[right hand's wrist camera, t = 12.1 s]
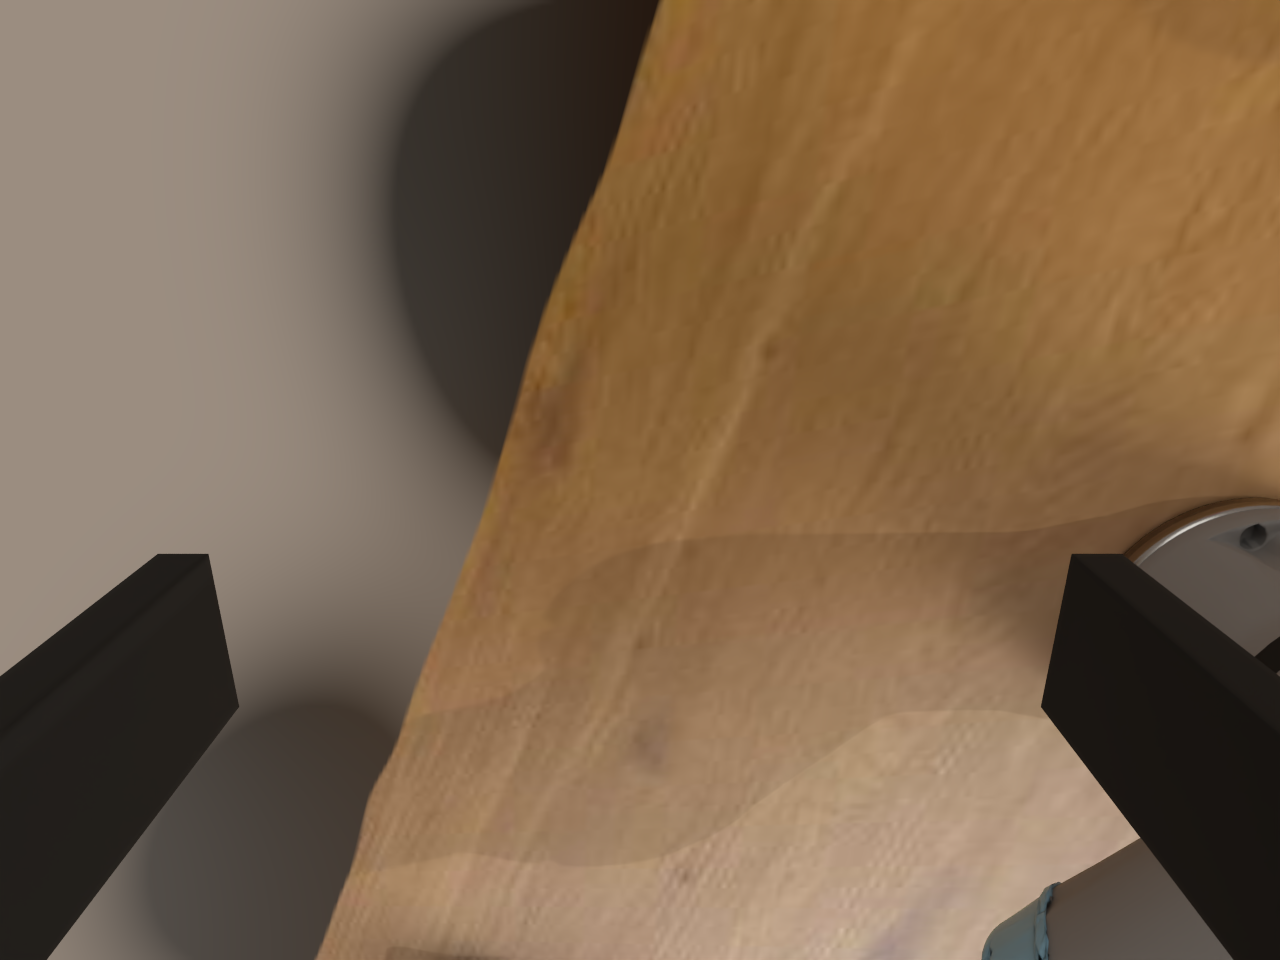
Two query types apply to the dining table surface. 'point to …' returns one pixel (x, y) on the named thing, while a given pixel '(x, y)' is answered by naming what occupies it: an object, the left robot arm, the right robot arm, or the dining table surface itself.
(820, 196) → the dining table surface
